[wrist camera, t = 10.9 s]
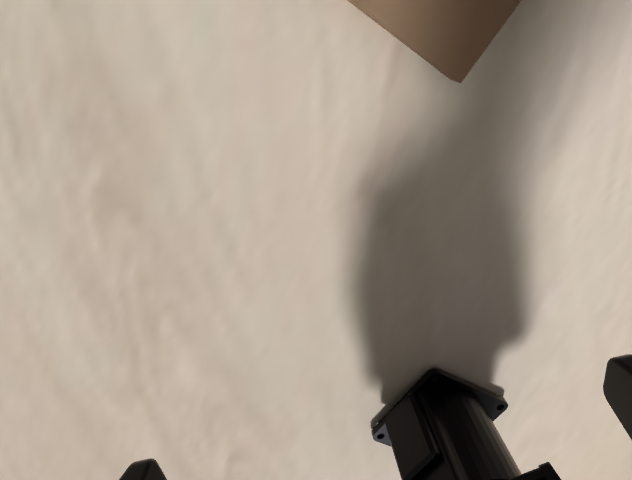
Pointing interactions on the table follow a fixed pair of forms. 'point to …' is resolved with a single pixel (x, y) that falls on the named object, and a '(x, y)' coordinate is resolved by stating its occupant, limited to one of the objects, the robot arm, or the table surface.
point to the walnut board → (442, 28)
